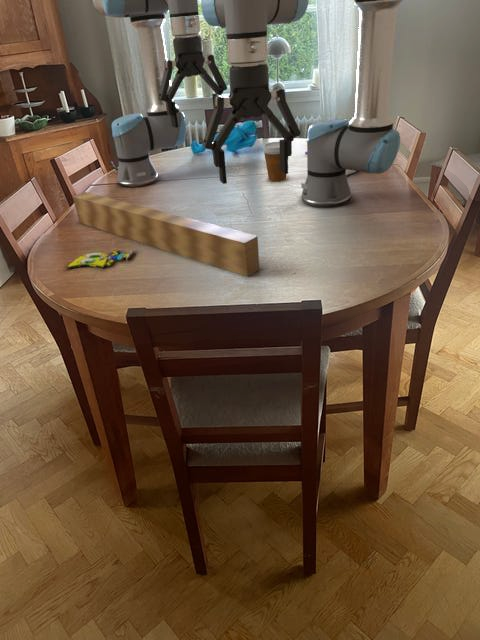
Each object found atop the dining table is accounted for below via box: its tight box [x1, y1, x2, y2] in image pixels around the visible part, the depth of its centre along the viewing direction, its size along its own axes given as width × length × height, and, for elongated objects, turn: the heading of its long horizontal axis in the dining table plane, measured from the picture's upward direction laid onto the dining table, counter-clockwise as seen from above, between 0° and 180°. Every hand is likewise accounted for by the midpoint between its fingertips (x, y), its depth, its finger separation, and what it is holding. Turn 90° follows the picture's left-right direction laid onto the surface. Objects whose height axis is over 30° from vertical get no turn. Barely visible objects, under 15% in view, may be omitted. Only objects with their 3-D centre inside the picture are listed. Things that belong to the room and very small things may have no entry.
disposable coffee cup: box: [262, 141, 288, 183], centre depth 169 cm, size 10×10×12 cm
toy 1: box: [66, 249, 134, 270], centre depth 125 cm, size 10×1×15 cm
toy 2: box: [189, 120, 258, 155], centre depth 209 cm, size 17×11×30 cm
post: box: [72, 191, 260, 277], centre depth 130 cm, size 68×5×8 cm, turn 50°
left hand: (197, 122), depth 136 cm, fingers open, 13 cm apart
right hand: (254, 177), depth 102 cm, fingers open, 13 cm apart
